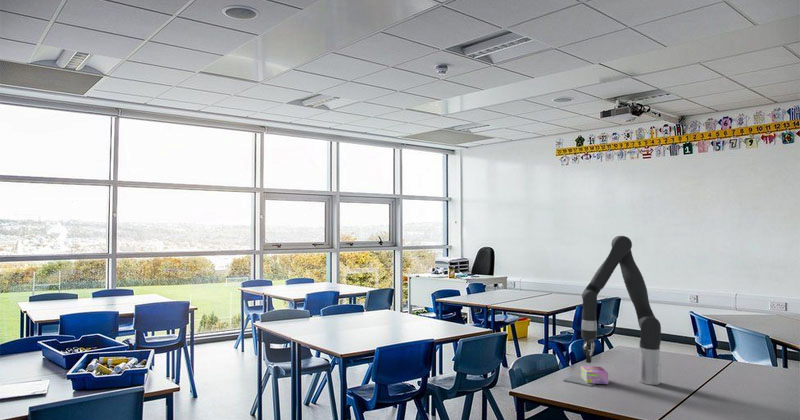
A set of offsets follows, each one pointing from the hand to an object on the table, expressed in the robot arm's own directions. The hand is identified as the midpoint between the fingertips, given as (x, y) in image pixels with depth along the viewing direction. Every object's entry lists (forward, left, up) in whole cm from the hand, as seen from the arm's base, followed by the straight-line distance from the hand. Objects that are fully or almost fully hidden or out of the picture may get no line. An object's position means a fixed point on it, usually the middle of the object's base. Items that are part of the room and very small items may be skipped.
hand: (588, 362), depth 275 cm
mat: (0, +11, -8) cm, 13 cm away
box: (-2, +1, -4) cm, 4 cm away
